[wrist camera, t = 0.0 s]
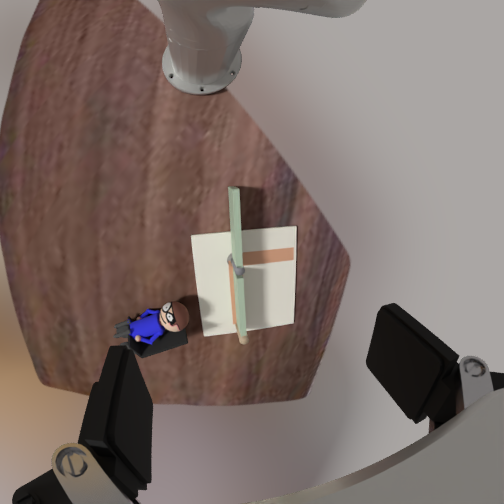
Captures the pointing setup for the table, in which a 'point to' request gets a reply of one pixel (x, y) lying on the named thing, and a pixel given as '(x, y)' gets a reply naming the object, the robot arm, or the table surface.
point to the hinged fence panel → (236, 230)
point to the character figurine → (155, 330)
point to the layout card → (246, 278)
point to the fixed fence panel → (240, 308)
